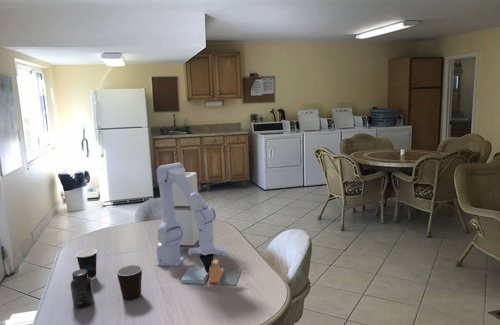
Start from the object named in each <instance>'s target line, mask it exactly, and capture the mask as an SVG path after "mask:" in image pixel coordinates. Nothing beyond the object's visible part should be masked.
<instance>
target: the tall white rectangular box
mask: <svg viewBox="0 0 500 325" xmlns="http://www.w3.org/2000/svg"><path fill="white" fill-rule="evenodd" d="M197 175H198V174H197V172H196V171H195V172H193V171H192V172H190V171H189V172H186V171H185V176H186V178H187V180H188V181H189V183H190V185H191V187H192V189H193V190H194V192H196V193H199V190H198V176H197ZM172 191H173V200H174V209H175V218H176V221H178V222H179V223H181V228H182V230H183V237H182V238H181V241H180V250H189V249H190V248H197V247H198V246H199V231H198V228H197V224H196V221H195V219H194V216H195V214H194V212H193V211H192V209H191V208H190V206H189V204H188V203H187V201H186V200H187V196H186V195H185V194H184V192H183V191H182V190H181V188H180V187H179V186H178V185H177V183H173V184H172Z"/></svg>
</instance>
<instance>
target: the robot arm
mask: <svg viewBox="0 0 500 325" xmlns="http://www.w3.org/2000/svg"><path fill="white" fill-rule="evenodd" d="M185 172H186V168H185V167H184V165H183V163H181V162H179V161H178V162H174V163H169V164H162V165H159V166H158V168H156V178H157V184H158V187H159V188H158V189H159V195H160V196H159V198H160V203H161V204H160V205H161V214H162V222H161V223H160V224H159V226H158V227H157V230H158V232H157V240H158V242H159V243H158V244H157V246H156V255H157V256H156V258H157V263H156V264H157V266H165V267H166V266H170V267H171V266H173V267H178V266H180V264H181V263H182V261H183V260H184V259H185V258H184V257H183V256H181V249H180V241H181V238H182V237H183V230H182V228H181V223H179V222H178V221H176V218H175V209H174V200H173V191H172V184H173V183H177V185H178V186H179V187H180V188H181V190H182V191H183V192H184V194H185V195H186V196H187V200H186V201H187V203H188V204H189V206H190V208H191V209H192V211H193V212H194V214H195V216H194V219H195V221H196V224H197V228H198V231H199V244H198V246H199V247H198V246H197V247H196V248H190V249H187V250H188V251H187V252H188V255H190V256H191V255H199V260H200V261H201V263H202V265H203V268H205V270H206V272H208V273H209V268H210V266H211V264H212V262H213V261H214V257H215V255H222V256H226V255H227V254H226V253H227V251H226V248H221V247H215V238H214V235H215V234H214V221H215V219H216V217H217V214H216V211H215V209H214V208H213V207H212V206H210V205H209V204H207V203H206V202H205V200H204V199H203V198H202V196H201V195H200V193H199V192H198V193H196V192H194V190H193V189H192V187H191V185H190V183H189V181H188V180H187V178H186V176H185Z"/></svg>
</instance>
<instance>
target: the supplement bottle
mask: <svg viewBox="0 0 500 325" xmlns="http://www.w3.org/2000/svg"><path fill="white" fill-rule="evenodd" d="M71 276H72V280H71V281H70V291H71V299H72V300H71V301H72V305H73V308H76V309H77V310H80V309H85V308H88V307H90V306H92V305H93V304H94V302H95V298H94V290H93V289H94V288H93V280H91V278H90V277H88V273H87V270H85V269H81V270H80V269H77V270H74V271H73V272H72V275H71Z"/></svg>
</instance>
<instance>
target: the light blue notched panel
mask: <svg viewBox="0 0 500 325" xmlns="http://www.w3.org/2000/svg"><path fill="white" fill-rule="evenodd" d="M209 276H210V275H209V273H208V272H206V270H205V267H201V266H200V267H193V266H190V267H188V269H187V270H186V272H185V273H184V275H183V276H182V278H181V279H180V281H181V284H201V285H203V284H205V283H206V281H207V279H208V278H209Z"/></svg>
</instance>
